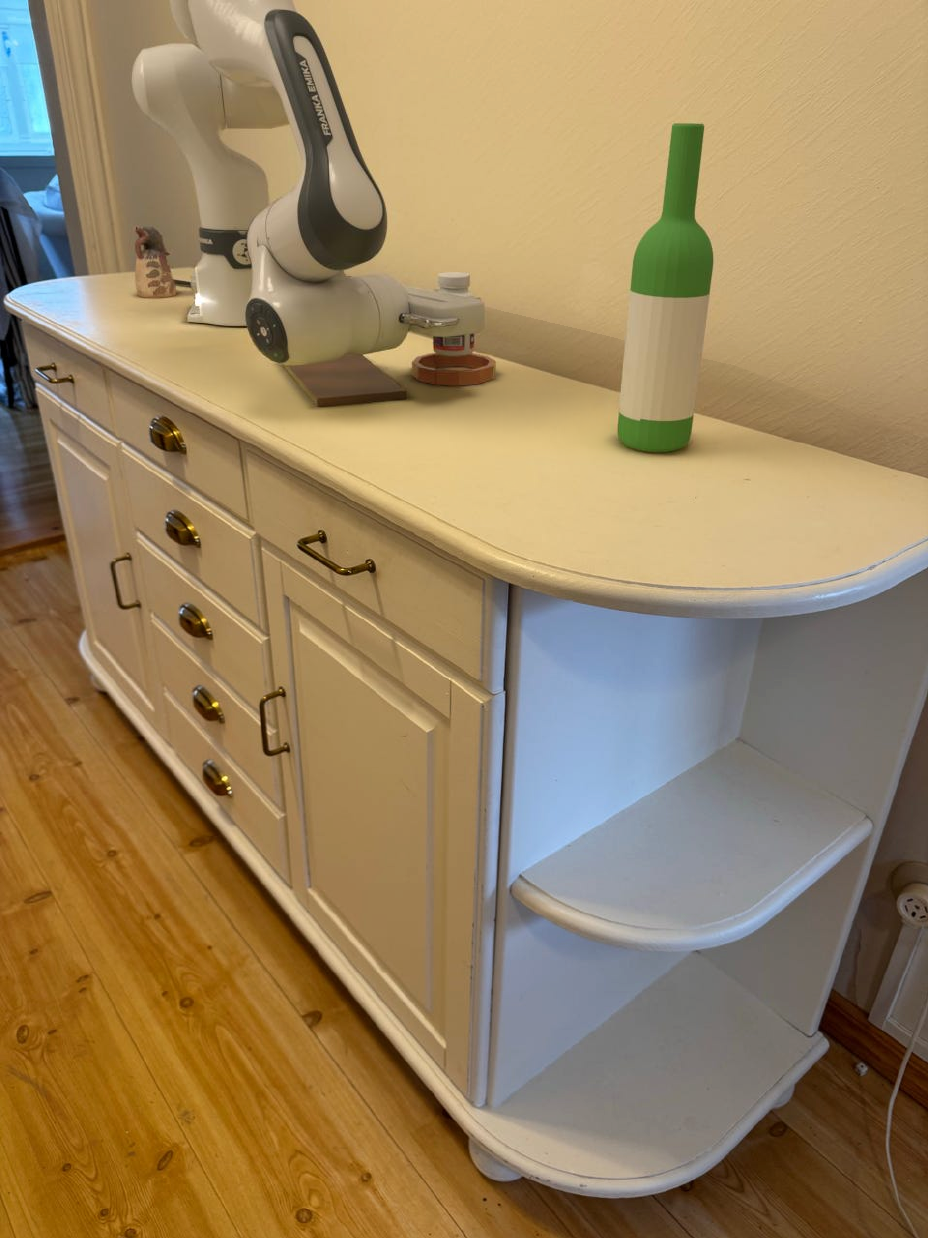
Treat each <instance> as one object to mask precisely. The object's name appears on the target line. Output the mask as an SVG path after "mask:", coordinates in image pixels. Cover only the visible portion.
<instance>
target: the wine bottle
mask: <svg viewBox="0 0 928 1238" xmlns="http://www.w3.org/2000/svg"><path fill="white" fill-rule="evenodd" d="M670 131H671V133H670V139H669V140H670V141H669V149H668V150H669V151H668V159H667V168H666V176H665V187H664V197H663V204H662V212H661V216H660V218H659V219H658V220H657V221H656V223H654V224H653V225H651V226H650V227H649V229H647V230H646V231H645V233H644V234H643V235H642V237H641V238H640V240H639V242H638V244H637V246H636V248H635V252H634V255H633V260H632V266H631V267H632V268H631V278H630V288H629V296H628V297H629V298H628V306H627V307H628V309H627V319H626V328H625V329H626V331H625V339H624V351H623V361H622V372H621V384H620V393H619V403H618V404H619V405H618V418H617V427H616V428H617V429H616V431H617V432H616V433H617V437H618V439H619V440H620V442H621V444H623V445H624V446H626V447H628V448H631V449H633V450H636V451H640V452H646V453H647V452H648V453H671V452H675V451H678V450H681V449H683V448H684V447H686V446H687V444H688V443H689V442H690V440H691V437H692V432H693V424H694V417H695V410H696V404H697V403H696V402H697V397H698V395H697V394H698V388H699V387H698V386H699V380H700V373H701V365H702V356H703V348H704V343H705V342H704V341H705V334H706V326H707V319H708V312H709V311H708V310H709V304H710V303H709V302H710V294H711V287H712V277H713V271H714V250H713V246H712V242H711V240H710V237H709V236H708V235H709V234H707V232H706V231H705V230H704V228H703V227H702V226H701V225H700V224H699V223H698V222H697V219H696V204H697V196H698V186H699V179H700V178H699V177H700V169H701V161H702V151H703V143H704V134H705V124H704V123H693V122H691V123H689V122H687V123H686V122H683V123H682V122H677V123H675V122H674V123H672V125H671V130H670Z"/></svg>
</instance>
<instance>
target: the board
mask: <svg viewBox="0 0 928 1238" xmlns="http://www.w3.org/2000/svg"><path fill="white" fill-rule="evenodd" d="M281 366H282V367H283V368H284V369H285V370H286V371H287V373H288V374H289V375H290V376H291V377H292V378H293V380H294V381H295V382H296V383H297V385H298V386H299V387H300V388H301V389H302V390H303V392H305V394H306V395H307V396H308V397H309V399H310V400H311V401H312V402H313V403H314V404H315V405H316V407H317V408H319V407H330V406H340V405H341V406H342V405H352V404H362V403H363V404H364V403H372V402H373V403H374V402H375V403H376V402H384V401H386V402H387V401H394V400H395V401H396V400H405V399H407V390H406V389H405V388H403V387H402V386H401V385H399V384H398V383H397V382H396V381H395V380H394V379H392V378H391V377H390V376H389V375H388V374H386V373H385V372H384V371H383V370H382V369H380V368H379V367H378V366H377V365H375V364H374V363H373V362H372V361H371V360H370V359H369V358H367V357H366V356H365V355H353V354H347V355H344V356H343V357H341V358H339V359H337V360H334V361H328V362H323V363H316V364H307V365H284V364H281Z"/></svg>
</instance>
